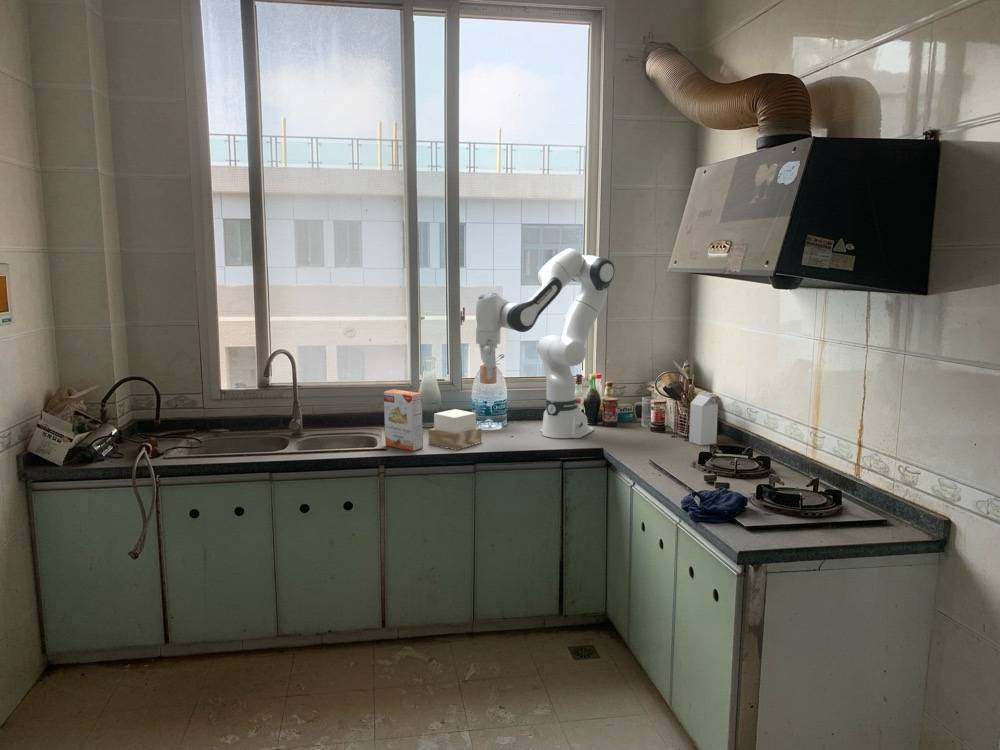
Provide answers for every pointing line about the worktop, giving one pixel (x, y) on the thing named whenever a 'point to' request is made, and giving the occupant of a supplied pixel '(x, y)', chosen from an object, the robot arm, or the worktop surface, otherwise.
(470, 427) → the tower top
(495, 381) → the pink cylinder
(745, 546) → the worktop surface
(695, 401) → the milk carton
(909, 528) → the worktop surface
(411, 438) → the cracker box
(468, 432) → the tower base
